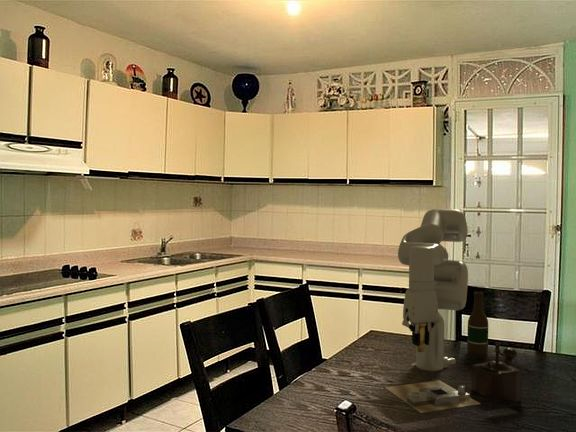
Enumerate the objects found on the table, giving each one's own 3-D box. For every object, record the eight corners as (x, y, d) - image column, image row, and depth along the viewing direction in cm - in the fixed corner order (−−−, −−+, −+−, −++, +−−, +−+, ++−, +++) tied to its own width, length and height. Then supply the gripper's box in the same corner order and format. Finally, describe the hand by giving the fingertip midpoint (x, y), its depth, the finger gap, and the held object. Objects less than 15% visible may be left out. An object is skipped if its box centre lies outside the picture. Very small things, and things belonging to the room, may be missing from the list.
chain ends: (457, 391, 159) (457, 381, 158) (474, 401, 151) (475, 391, 151) (403, 399, 152) (403, 388, 152) (418, 409, 145) (418, 399, 145)
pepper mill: (468, 394, 160) (469, 337, 159) (495, 389, 165) (496, 333, 164) (508, 414, 146) (510, 350, 145) (536, 407, 151) (538, 346, 150)
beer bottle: (465, 349, 208) (466, 290, 207) (485, 350, 206) (486, 290, 206) (469, 355, 200) (470, 293, 199) (490, 356, 199) (491, 294, 198)
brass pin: (422, 348, 163) (422, 320, 163) (428, 351, 160) (428, 323, 160) (412, 349, 162) (413, 321, 162) (418, 353, 159) (419, 324, 159)
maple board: (439, 384, 168) (439, 380, 168) (480, 408, 149) (480, 403, 149) (384, 392, 162) (384, 387, 162) (420, 418, 143) (420, 412, 143)
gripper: (436, 282, 166) (435, 338, 167) (392, 285, 161) (391, 343, 162) (450, 286, 159) (450, 345, 160) (404, 289, 154) (404, 350, 155)
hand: (420, 343), depth 161 cm, fingers closed on brass pin, 2 cm apart
